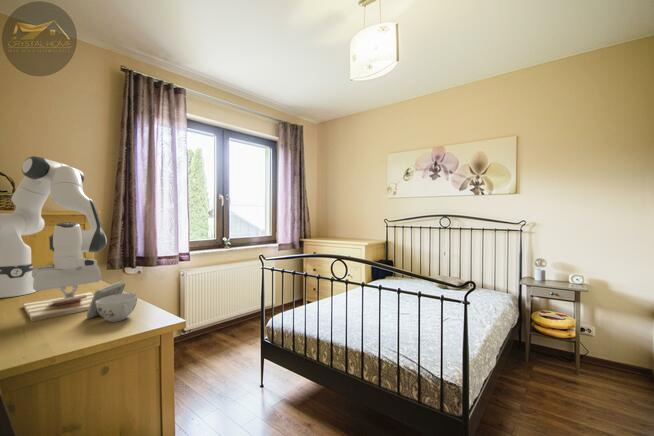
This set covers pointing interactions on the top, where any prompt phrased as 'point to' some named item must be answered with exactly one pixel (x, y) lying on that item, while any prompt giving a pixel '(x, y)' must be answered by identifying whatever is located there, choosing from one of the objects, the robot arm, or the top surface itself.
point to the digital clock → (102, 293)
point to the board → (56, 307)
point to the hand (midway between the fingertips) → (69, 297)
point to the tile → (67, 300)
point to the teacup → (116, 306)
